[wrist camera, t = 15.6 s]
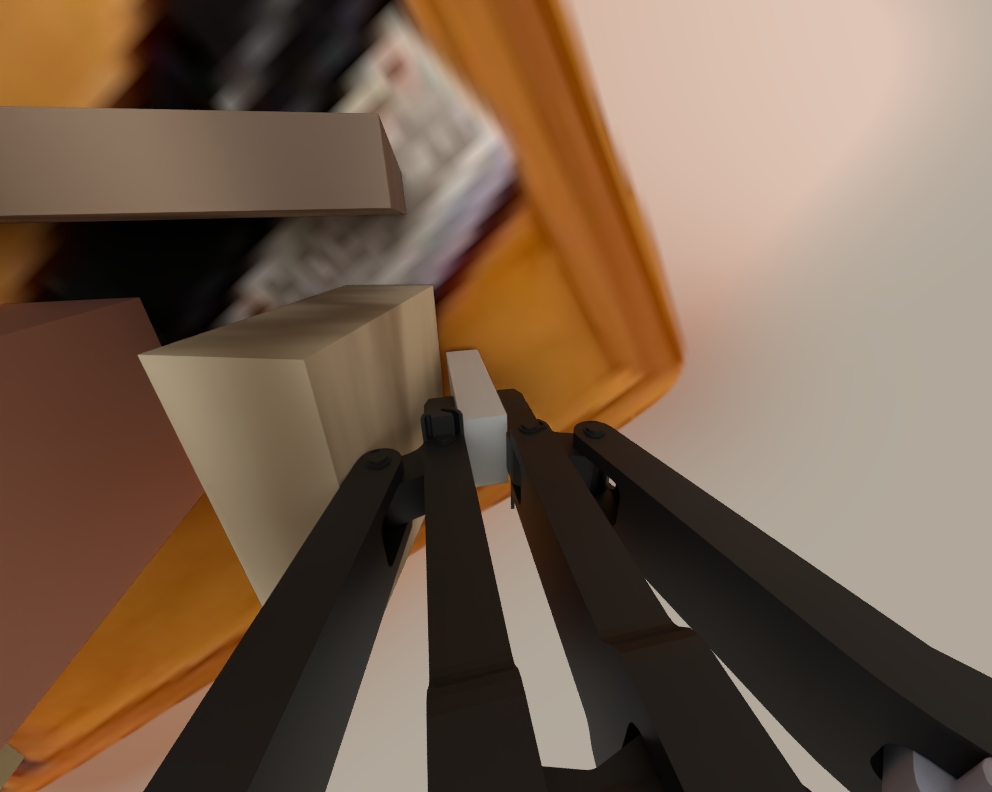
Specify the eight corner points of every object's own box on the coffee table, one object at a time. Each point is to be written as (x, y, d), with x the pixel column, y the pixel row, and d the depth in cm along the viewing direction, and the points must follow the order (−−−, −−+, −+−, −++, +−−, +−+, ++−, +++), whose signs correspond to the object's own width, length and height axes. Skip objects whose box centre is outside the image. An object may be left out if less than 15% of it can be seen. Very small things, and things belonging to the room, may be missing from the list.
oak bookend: (379, 452, 20) (263, 611, 12) (345, 285, 16) (137, 354, 8) (449, 457, 19) (378, 626, 11) (432, 285, 15) (303, 359, 7)
